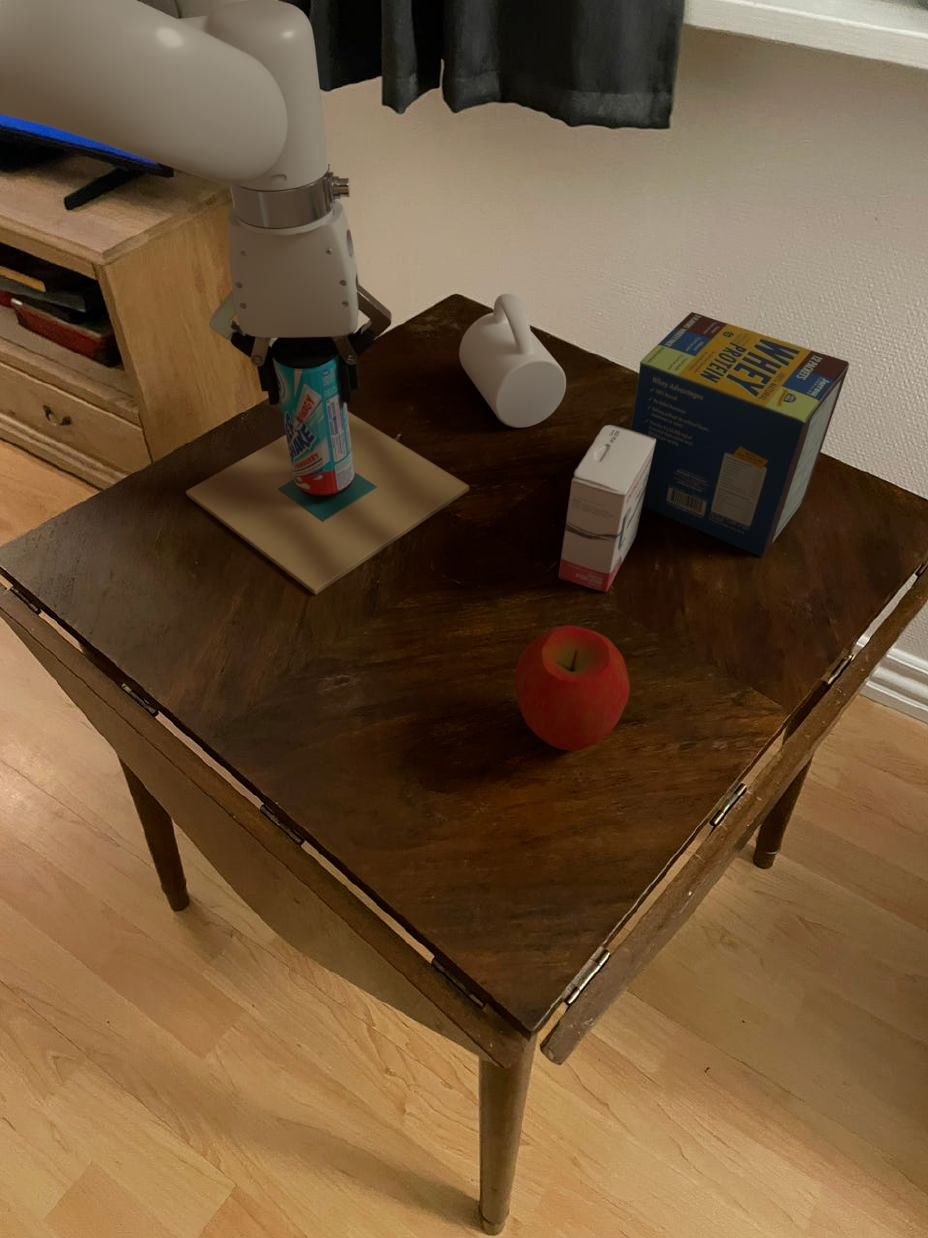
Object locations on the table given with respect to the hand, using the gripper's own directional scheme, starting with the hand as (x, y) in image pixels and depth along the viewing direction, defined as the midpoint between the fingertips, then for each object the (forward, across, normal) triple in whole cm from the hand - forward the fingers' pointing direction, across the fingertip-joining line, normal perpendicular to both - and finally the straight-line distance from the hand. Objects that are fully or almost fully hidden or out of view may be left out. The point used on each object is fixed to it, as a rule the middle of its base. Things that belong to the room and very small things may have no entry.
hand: (312, 393), depth 84 cm
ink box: (+12, -26, +10) cm, 30 cm away
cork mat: (+12, 0, 0) cm, 12 cm away
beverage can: (+10, 0, 0) cm, 10 cm away
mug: (+12, -19, -15) cm, 27 cm away
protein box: (+12, -38, +2) cm, 40 cm away
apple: (+12, -21, +30) cm, 38 cm away
